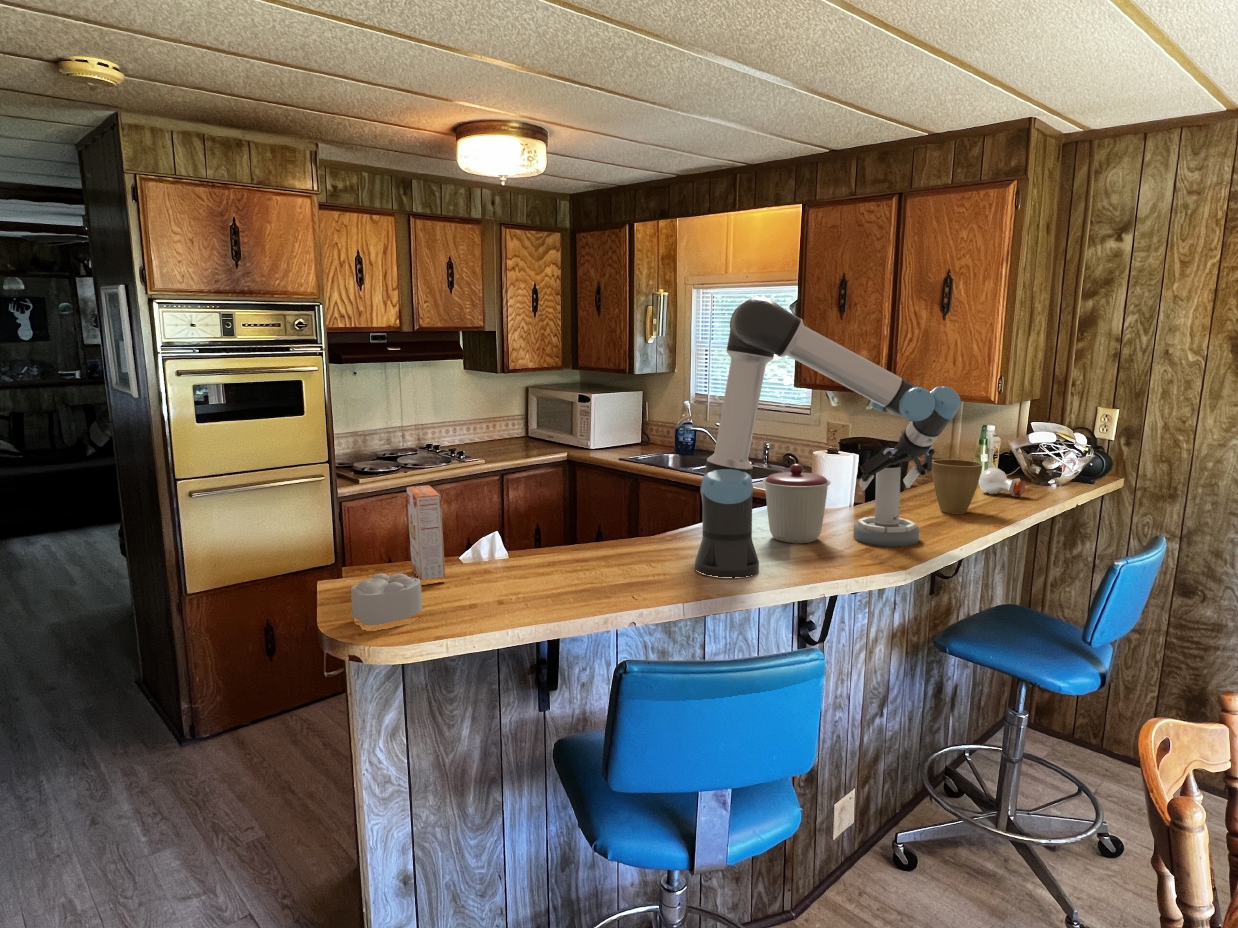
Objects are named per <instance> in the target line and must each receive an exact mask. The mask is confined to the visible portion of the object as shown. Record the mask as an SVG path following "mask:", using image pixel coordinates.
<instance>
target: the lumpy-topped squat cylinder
mask: <svg viewBox="0 0 1238 928" xmlns="http://www.w3.org/2000/svg"><path fill="white" fill-rule="evenodd" d="M350 594H351V596H350V597H351V610H352V618H353V617H354V618H356V619H358V620H359V621H360V622H361V623H362V624H363V625H379V624H384V623H388V622H393V621H397V620H401V619H406V618H409V617H412V616H413V615H416V614H417V613H419V612H420V611H421V610H422V611H423V599H422V598H423V597H422V594H423V593H422V586H421V581H420V579H418V578H417V577H414V576H408V575H407V574H404V573H401V572H400V573H394V574H392V575H391V576H389V575H387V574H386V573H376V574H374V575H373V576H372V577H371V578H369V579H368V578H367V579H364V580H361V581H360V582H358V583H356V584H354V585H352V586H351V587H350Z"/></svg>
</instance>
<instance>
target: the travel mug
mask: <svg viewBox="0 0 1238 928" xmlns="http://www.w3.org/2000/svg"><path fill="white" fill-rule="evenodd" d="M893 458H894V460H896V457H895V455H893ZM901 463H902V462H899V463H897V464H896V465H893V464H892V465H890V466H888V467H886V468H885V469H883V470H881V471H879V472H877V473H875V498H874V500H875V502H874V503H875V504H874V506H875V507H874V517H875V526H881V527H899V518H900V499H901V475H902V474H901V473H902V472H901V469H902V467H901Z"/></svg>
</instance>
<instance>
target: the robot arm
mask: <svg viewBox="0 0 1238 928" xmlns="http://www.w3.org/2000/svg"><path fill="white" fill-rule="evenodd" d="M730 317H731V318H730V321H729V335H728V340H727V341H728V342H727V347H726V353H727V354H728V356H729V357H730V359H731V360H730V364H729V370H728V376H727V381H726V385H725V386H726V387H725V392H724V397H723V403H722V408H721V412H720V413H721V414H720V419H719V425H718V430H717V435H716V436H717V437H716V440H715V441H716V442H715V446H714V447H715V448H714V453H712V455H710V456H709V457H708V458H706V464H705V469H704V474H703V477H702V480H701V482H700V489H699V490H700V497H701V504H702V524H701V525H702V538H701V542H700V543H699V544H700V545H699V547H698V551H697V554H696V557H695V559H694V560H695V561H694V570H695V569H696V570H697V571H699V572H701V573H704V574H706V575H712V576H718V577H732V578H735V577H745V578H747V577H746V576H750V577H752V576H751V575H753V576H755V575H757V574H758V573H759V572H760V569H759V568H760V561H759V557H758V554H757V552H756V549H755V546H754V542H753V493H754V486H753V478H752V474H753V467H754V466H753V464H751V462H750V461H749V456H750V450H751V446H752V440H753V435H754V429H755V424H756V417H757V414H758V407H759V403H760V397H761V391H762V389H763V388H762V386H763V382H764V375H765V371H766V367H767V364H769V362H771V361H772V360H774V357H775V355H776V356H777V357H780V358H783V357H786V356H788V357H789V358H790V359H791V358H792V359H793V360H795V361H796V362H798V363H801V364H802V365H804V366H806V367H808V368H810V369H812V370H814V371H816V372H818V373H819V374H821V375H823V376H825V377H827V378H829V379H830V380H832V381H834V382H835V383H839V384H840V385H841V386H843V387H845V388H847V389H849V390H852V391H853V392H855V393H856V394H859V395H861V396H863V397H864V398H866V399H868V400H870V406H871V408H872V409H874V410H876V411H880V412H881V413H886V414H888V415H889V414H890V415H893V416H896V417H899V418H903V419H905V420H907V421H909V423H908V425H907V427H906V428H905V429H904V431H903V433H901V435H900V436H899V438H898V442H897V445H896V446H895V447H893V448H890V446H889V445H885V446H884V447H883V448H882V449H881V450H880V451H879V452H878V453H877V454H875V455H874V456H872V457H870V458H869V459H868V460H867V461H865V462H864V463H863V464H861V465H860V469H861V472H862V475H861V476H860V480H859V481H858V485H859V486H860V489H861V491H865V490H866V489H867V488H868V486H869V485H870V483H871V482H872V480H873V479H874V478H875V475H876V473H877V472H879V471H881V470H883V469H885V468H886V467H888V466H890V465H892V464H893V465H896V464H897V463H899V462H901V463H904V462H906V463H909V462H912V461H913V462H914V464H915V465H912V467H911V468H910V470H909V471H908V472H907V474H906V476H905V477H904V478H903V479H902V481H903V483H904V486H905V487H906V489H909V488H910V487H911V486H913V485H912V484H913V483H915V481H916V479H918V478H920V476H924V475H926V474H927V473H926V471H927V472H932V461H933V457H934V455H935V453H936V451H935V449H934V446H933V444H934V443H935V441H936V440H937V439H938V437H939V436H941V434H942V432H943V431H944V430H945V428H946V427H947V426H948V425H949V423H950V422H951V420H953V419H954V418H955V416H956V415H957V413H958V411H959V409H960V407H961V406H962V399H961V398H960V395H959V394H958V392H956V391H955V390H954V389H952V388H951V387H949V386H945V385H944V386H936V387H934V388H933V389H932V390H931V391H930V390H928V389H926V388H924V387H922V386H918V385H915V384H913V383H912V382H909V381H908V380H905V379H904V378H902V377H901V376H899V375H896V374H895V373H893V372H891V371H890V370H887V369H885V368H884V367H881V366H880V365H878V364H876V363H874V362H873V361H870V360H869V359H867V358H865V357H863V356H861V355H859V354H858V353H855V352H853V351H851V350H850V349H848V348H846V347H844V346H843V345H840V344H839V343H837V342H835V341H833V340H832V339H829V338H827V337H826V336H824V335H822V334H820V333H819V332H817V331H815V330H812V329H811V328H809V327H808V326H805V325H804V320H803V319H802V318H800V317H798V316H797V315H795V314H793V313H792V312H790V311H788V310H786V309H785V308H784V307H782V306H781V305H780V304H778V303H776V301H774V300H772V299H770V298H767V297H763V296H761V297H759V296H757V297H752V298H749V299H747V300H745V301H744V302H743V303H742V302H741V304H739V305H738V306H737V307H736V308H735V309H734V311H733V313H732V315H731V316H730ZM893 455H895V457H896V460H894V458H893ZM922 456H923V463H922V462H921V461H920V457H922ZM696 570H695V571H696Z"/></svg>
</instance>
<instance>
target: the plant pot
mask: <svg viewBox="0 0 1238 928" xmlns="http://www.w3.org/2000/svg"><path fill="white" fill-rule="evenodd" d="M983 466H984V465H983V463H982V462H979V461H973V460H966V459H965V460H964V459H932V470H931V474H932V480H933V486H934V492H935V496H936V500H937V503H938V507H939V509H940V512H942V511H943V512H942V513H945V512H946V513H945V514H950V513H953V514H952V515H964V514H966V513H967V511H968V510H969V507H970V506H971V503H972V501H973V498H974V496H975V493H976V491H977V488H978V486H979V478H980V475H981V474H982V469H983Z"/></svg>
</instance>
